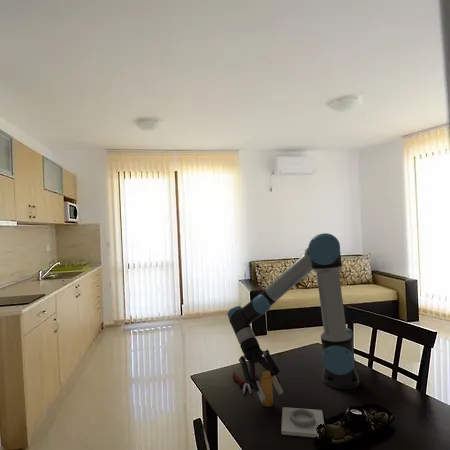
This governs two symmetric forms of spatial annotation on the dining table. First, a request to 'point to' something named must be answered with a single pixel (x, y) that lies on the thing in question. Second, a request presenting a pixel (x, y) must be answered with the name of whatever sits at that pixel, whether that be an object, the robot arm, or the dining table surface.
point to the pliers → (243, 382)
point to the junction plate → (301, 421)
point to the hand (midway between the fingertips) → (272, 396)
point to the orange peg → (267, 388)
